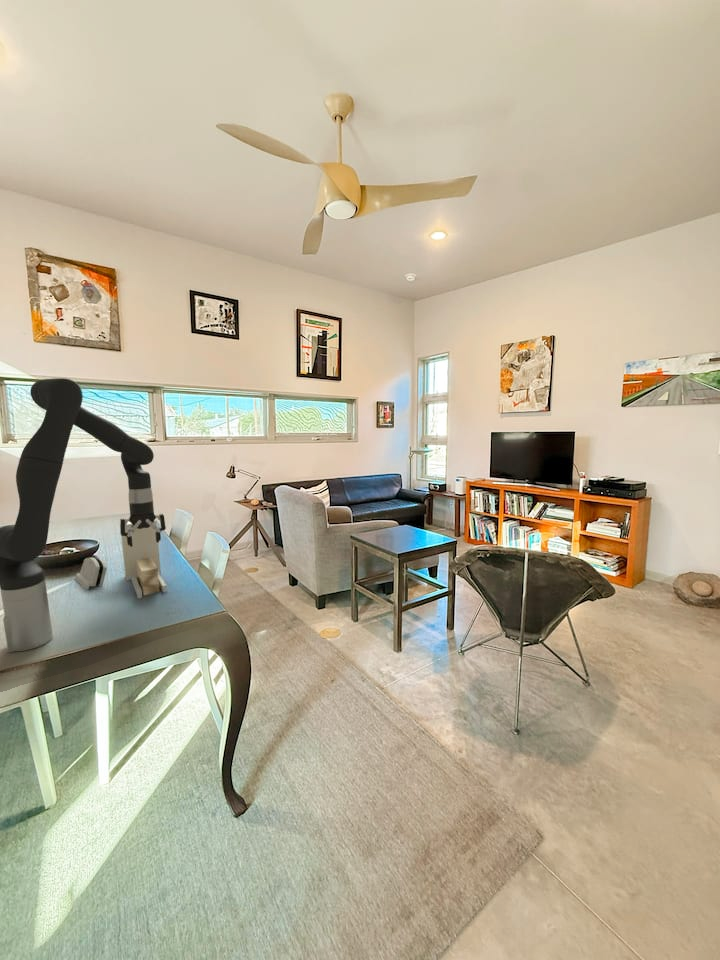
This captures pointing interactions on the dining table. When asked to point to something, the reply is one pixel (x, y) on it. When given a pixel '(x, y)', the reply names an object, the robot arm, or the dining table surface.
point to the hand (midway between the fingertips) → (144, 544)
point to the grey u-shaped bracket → (140, 554)
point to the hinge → (92, 573)
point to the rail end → (147, 576)
